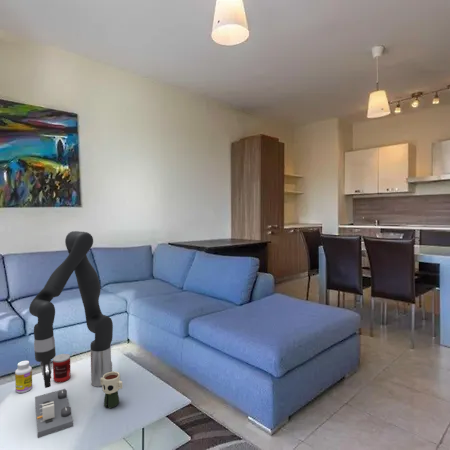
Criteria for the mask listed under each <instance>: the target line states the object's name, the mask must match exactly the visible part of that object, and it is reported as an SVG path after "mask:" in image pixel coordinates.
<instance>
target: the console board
mask: <svg viewBox="0 0 450 450" xmlns="http://www.w3.org/2000/svg"><path fill="white" fill-rule="evenodd" d="M67 391H68V390H66V388H63V389H59V390H54V391H52V392H48V393H45V394H40V395H37V396H35V397H34V401H35V404H34V405H35V415H36V417H35V418H36V428H37V429H36V430H37V438H41V437H43V436H48V435H50V434H53V433H57V432H59V431H63V430H65V429H68V428H72V427H74V419H73V415H72V407H71V406H70V402H69V398H68V392H67ZM53 401H54V416H55V417H54V418H51V419H47V420H44V421H43V416H42V404H46V403H49V402H53Z"/></svg>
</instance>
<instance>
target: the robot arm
mask: <svg viewBox="0 0 450 450" xmlns="http://www.w3.org/2000/svg"><path fill="white" fill-rule="evenodd" d="M64 242H65V247H66V250H67V252H68V255H67V256H66V258H65V259H64V260H63V262H62V263H61V264H59V265H58V267H56V269H55V270H54V271H53V272H51V274H50V276H49V278H48V280H47V281H46V283H45V285H44V287H43V288H42V289H41V290H40V291H39V292H38V293H37V294H36V295H35V297H34V298H33V299H32V301H31V302H30V305H29V308H28V311H29V313H30V315H32V316H33V317H36V318H37V323H36V324H34V326H33V339H34V340H33V348H34V360H35V361H36V362H38V363H40V364H39V365H40V369H41V375H42V378H43V381H44V383H43V384H44V388H45V389H46V388H50V387H51V386H52V385H51V384H52V383H51V379H52V374H53V372H52V371H53V370H52V368H53V361H52V360H53V358H54V357H55V356H57V352H56V342H55V333H54V322H55V316H56V307H55V305H54V303H52V300H53V299H54V298H57V297H60V295H61V294H62V292H63V290H64V289H65V287H66V285H67V282H68V281H69V280H70V278H71V275H72V274H73V273H74V275H75V278H76V281H77V287H78V290H79V293H80V297H81V301H82V304H83V308H84V309H83V310H84V314H85V322H86V328H87V329H88V331H89V332H91V333H93V334H94V340H92V341H91V342H90V373H91V374H90V376H91V377H90V381H91V382H90V383H91V385H92V386H94V387H97V388H98V387H102V385H101V384H100V379H101V378H103V375H104V374H106V373H108V372H113V362H112V341H113V331H114V330H113V329H114V328H113V327H114V324H113V319H112V318H111V317H110V316H108V315H106V314H103V313H102V311H101V307H100V300H99V299H100V295H101V283H100V280H99V275H98V273H97V271H96V270H95V268H94V267H93V265H92V264H91V262H90V260H89V259H88V256H87V254H88V253H89V251H90V250H91V248H92V247H93V244H94V236H93V235H92V234H91V233H90V232H86V231H78V230H75V231H74V230H73V231H69V232H68V233H67V235H66V237H65V241H64Z"/></svg>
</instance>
